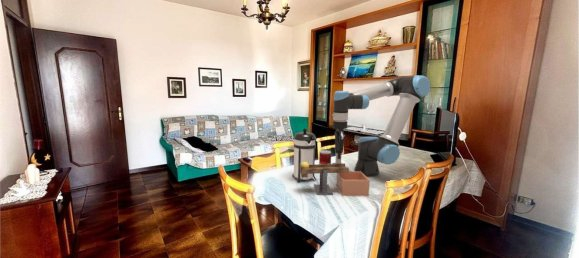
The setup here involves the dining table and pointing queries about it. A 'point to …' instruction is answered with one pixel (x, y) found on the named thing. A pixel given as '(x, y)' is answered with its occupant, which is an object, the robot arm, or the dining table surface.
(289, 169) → the dining table surface
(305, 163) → the ball
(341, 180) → the brown cardboard box
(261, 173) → the dining table surface
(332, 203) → the dining table surface
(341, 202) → the dining table surface
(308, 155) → the coffee press
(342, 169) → the tipping chute
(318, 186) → the chute stand
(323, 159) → the canned food
